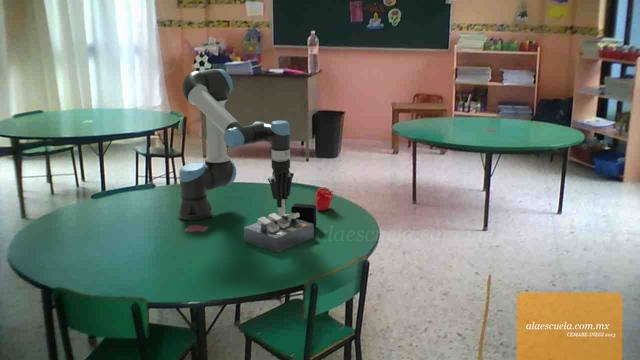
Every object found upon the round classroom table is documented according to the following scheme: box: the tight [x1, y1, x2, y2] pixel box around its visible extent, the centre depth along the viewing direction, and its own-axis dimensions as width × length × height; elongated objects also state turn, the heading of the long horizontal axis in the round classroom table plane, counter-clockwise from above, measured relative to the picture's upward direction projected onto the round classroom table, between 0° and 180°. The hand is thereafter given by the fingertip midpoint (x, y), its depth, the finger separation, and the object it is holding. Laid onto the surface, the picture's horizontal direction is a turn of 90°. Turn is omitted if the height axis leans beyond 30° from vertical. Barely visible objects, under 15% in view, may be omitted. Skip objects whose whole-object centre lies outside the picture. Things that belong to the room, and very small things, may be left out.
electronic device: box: [290, 203, 317, 230], centre depth 267 cm, size 4×10×10 cm, turn 78°
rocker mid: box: [267, 212, 290, 228], centre depth 254 cm, size 9×3×2 cm, turn 49°
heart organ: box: [314, 186, 336, 212], centre depth 291 cm, size 10×12×12 cm
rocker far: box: [280, 213, 300, 219], centre depth 258 cm, size 9×3×2 cm, turn 48°
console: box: [243, 212, 315, 254], centre depth 255 cm, size 19×21×9 cm
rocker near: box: [256, 216, 279, 233], centre depth 249 cm, size 9×3×2 cm, turn 49°
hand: (281, 213), depth 261 cm, fingers closed
